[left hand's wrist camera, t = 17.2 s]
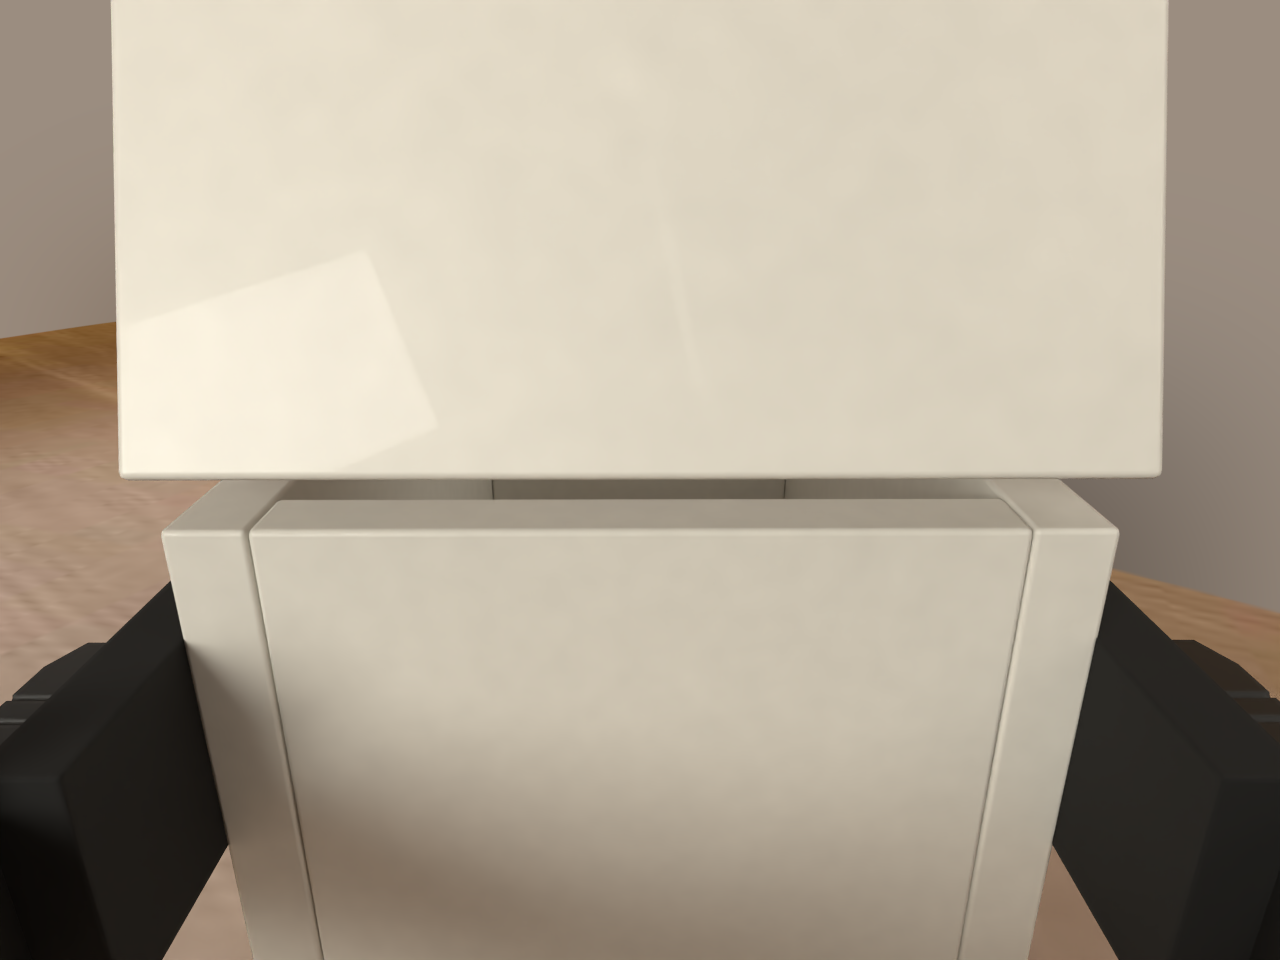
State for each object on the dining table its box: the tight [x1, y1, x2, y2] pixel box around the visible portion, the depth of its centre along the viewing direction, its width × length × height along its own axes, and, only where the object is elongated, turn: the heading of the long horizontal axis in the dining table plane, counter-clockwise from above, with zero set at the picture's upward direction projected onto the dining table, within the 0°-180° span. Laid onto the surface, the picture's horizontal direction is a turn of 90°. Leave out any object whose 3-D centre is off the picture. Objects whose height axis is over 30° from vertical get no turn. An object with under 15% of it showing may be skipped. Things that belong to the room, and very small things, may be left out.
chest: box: [161, 479, 1119, 960], centre depth 17 cm, size 15×9×9 cm, turn 0°
